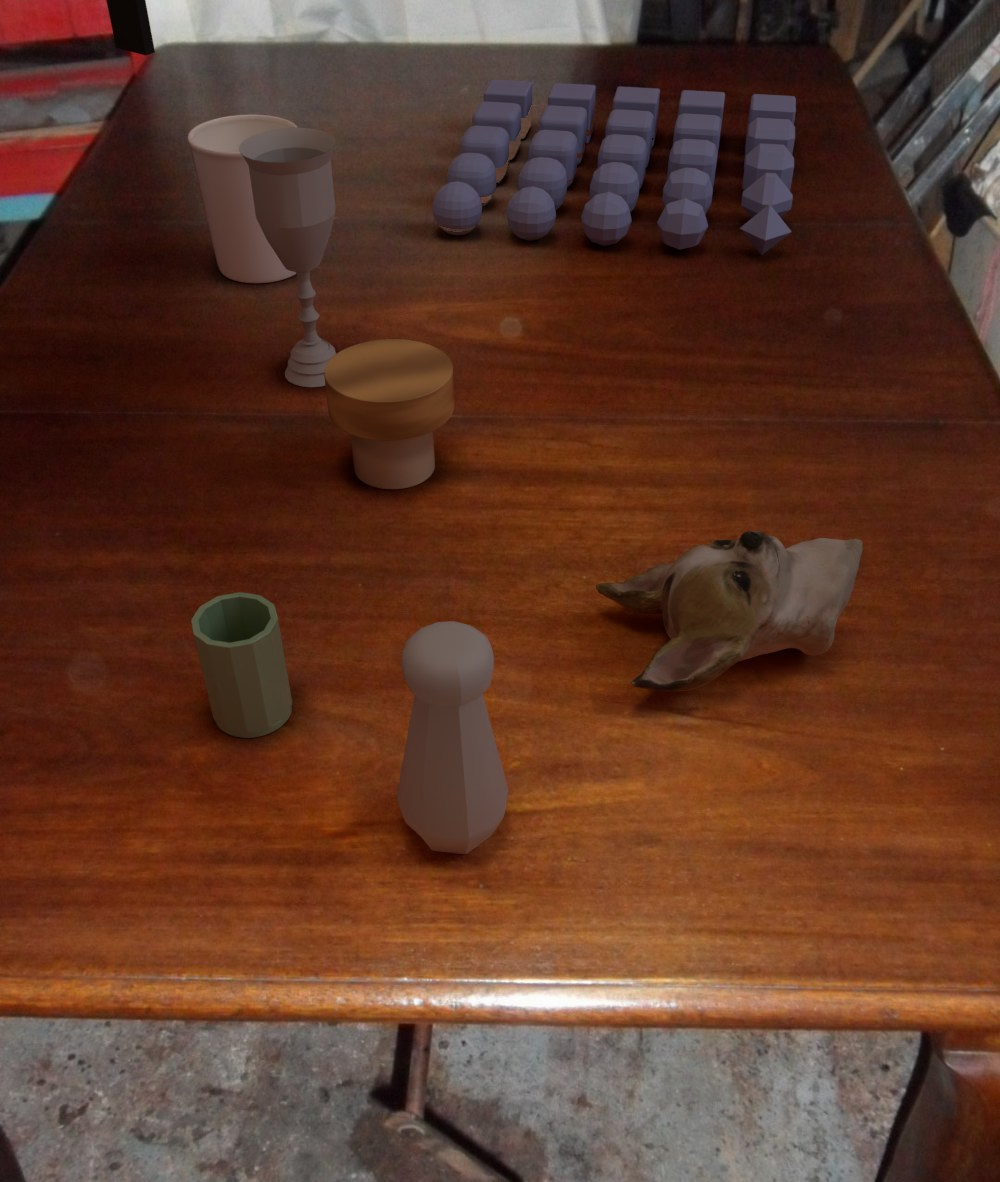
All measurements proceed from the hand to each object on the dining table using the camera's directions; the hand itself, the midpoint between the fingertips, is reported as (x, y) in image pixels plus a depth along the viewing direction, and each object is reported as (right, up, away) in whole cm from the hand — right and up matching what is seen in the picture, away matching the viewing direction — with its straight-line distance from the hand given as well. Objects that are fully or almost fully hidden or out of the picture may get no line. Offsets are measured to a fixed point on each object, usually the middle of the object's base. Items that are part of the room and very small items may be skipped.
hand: (46, 79), depth 70 cm
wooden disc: (+19, -15, +15) cm, 29 cm away
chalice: (+11, -9, +29) cm, 33 cm away
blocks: (+40, +19, +58) cm, 73 cm away
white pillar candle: (+19, -19, +19) cm, 33 cm away
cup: (+12, -37, 0) cm, 39 cm away
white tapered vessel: (+4, +6, +44) cm, 45 cm away
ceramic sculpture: (+41, -33, +4) cm, 53 cm away
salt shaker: (+24, -43, -6) cm, 50 cm away
